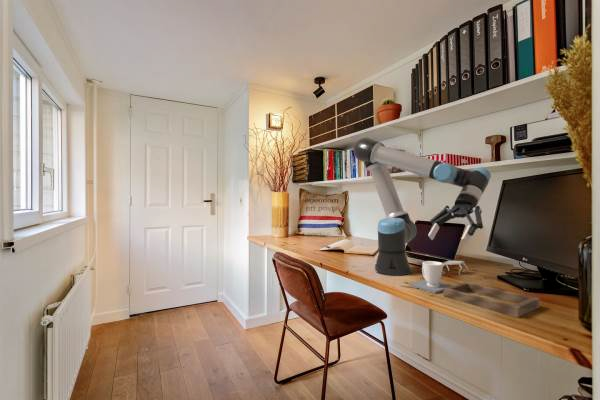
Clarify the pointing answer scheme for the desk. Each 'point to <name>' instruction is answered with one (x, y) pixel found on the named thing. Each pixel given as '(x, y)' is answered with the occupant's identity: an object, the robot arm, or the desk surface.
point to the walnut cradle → (522, 308)
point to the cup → (432, 272)
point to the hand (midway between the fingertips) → (446, 239)
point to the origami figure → (454, 264)
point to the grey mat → (424, 286)
